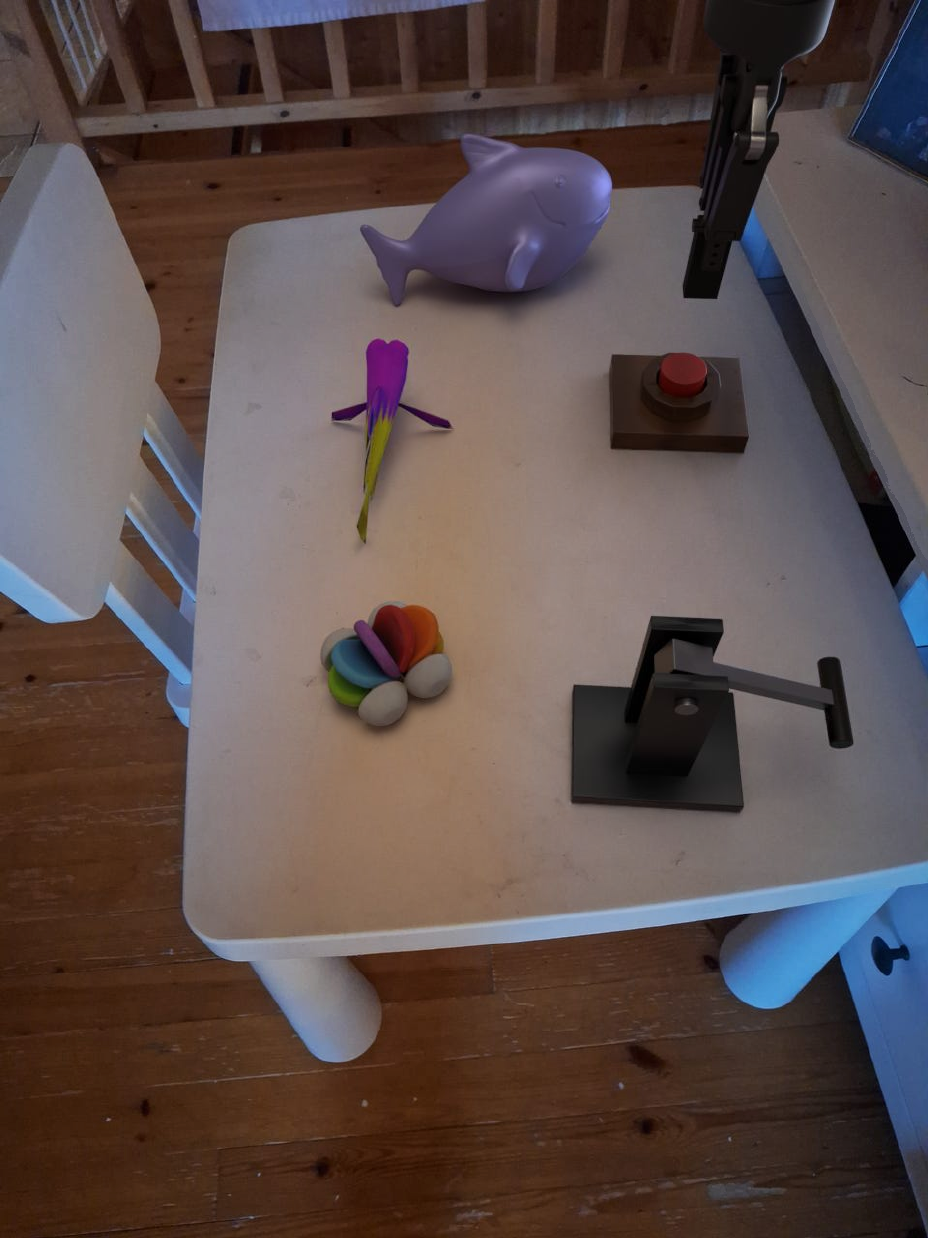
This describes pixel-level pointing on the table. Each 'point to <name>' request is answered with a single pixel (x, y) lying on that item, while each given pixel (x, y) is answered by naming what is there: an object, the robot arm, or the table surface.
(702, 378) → the button
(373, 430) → the toy
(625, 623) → the table surface
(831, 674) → the t-handle lever
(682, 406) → the button block
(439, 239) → the toy whale
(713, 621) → the bracket
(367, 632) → the fanned rainbow disc cluster
